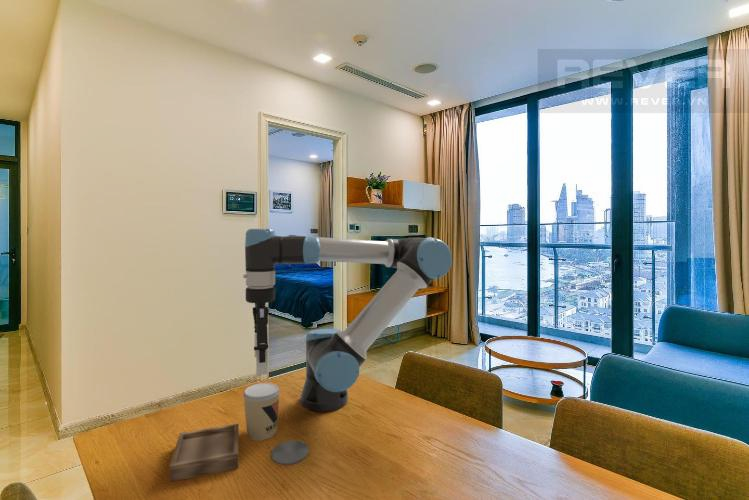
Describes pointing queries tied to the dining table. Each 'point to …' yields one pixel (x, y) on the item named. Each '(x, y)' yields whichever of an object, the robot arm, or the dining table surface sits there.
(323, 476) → the dining table surface
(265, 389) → the coffee cup
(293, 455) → the slate coaster
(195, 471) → the square wooden tray
